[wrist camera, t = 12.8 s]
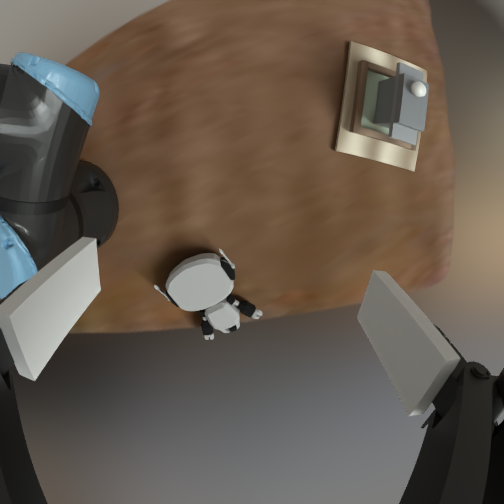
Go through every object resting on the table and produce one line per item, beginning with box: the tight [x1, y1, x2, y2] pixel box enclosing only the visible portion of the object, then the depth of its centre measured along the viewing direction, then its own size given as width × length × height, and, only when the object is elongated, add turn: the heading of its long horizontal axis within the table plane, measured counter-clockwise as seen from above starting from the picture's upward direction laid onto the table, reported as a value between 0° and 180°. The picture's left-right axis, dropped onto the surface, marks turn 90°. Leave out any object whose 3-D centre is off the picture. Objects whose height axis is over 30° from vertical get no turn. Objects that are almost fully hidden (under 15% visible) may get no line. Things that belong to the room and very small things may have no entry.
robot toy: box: [154, 249, 262, 340], centre depth 46 cm, size 12×4×15 cm
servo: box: [373, 62, 429, 145], centre depth 32 cm, size 4×11×9 cm, turn 172°
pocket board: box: [335, 41, 427, 171], centre depth 36 cm, size 14×18×2 cm
